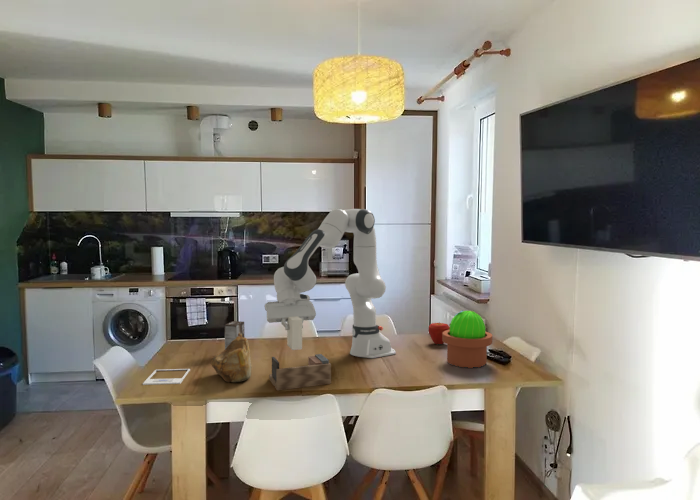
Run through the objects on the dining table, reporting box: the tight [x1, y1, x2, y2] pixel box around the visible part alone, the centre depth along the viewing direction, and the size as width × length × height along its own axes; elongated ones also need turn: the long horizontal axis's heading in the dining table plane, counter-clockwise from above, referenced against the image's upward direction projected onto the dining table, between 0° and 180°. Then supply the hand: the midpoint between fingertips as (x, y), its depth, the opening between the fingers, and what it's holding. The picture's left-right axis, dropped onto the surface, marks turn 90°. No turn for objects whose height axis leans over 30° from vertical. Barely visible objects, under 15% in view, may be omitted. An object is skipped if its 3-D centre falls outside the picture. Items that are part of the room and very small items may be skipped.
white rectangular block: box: [286, 316, 303, 351], centre depth 201 cm, size 4×8×12 cm, turn 21°
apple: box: [427, 321, 450, 345], centre depth 264 cm, size 11×11×12 cm
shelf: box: [268, 353, 332, 391], centre depth 203 cm, size 22×14×10 cm, turn 111°
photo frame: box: [142, 368, 191, 386], centre depth 208 cm, size 15×1×18 cm
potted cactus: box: [442, 310, 493, 369], centre depth 229 cm, size 22×22×25 cm
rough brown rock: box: [210, 336, 252, 383], centre depth 209 cm, size 23×17×15 cm
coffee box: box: [224, 320, 245, 350], centre depth 239 cm, size 9×6×16 cm
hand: (294, 328), depth 201 cm, fingers closed on white rectangular block, 4 cm apart
